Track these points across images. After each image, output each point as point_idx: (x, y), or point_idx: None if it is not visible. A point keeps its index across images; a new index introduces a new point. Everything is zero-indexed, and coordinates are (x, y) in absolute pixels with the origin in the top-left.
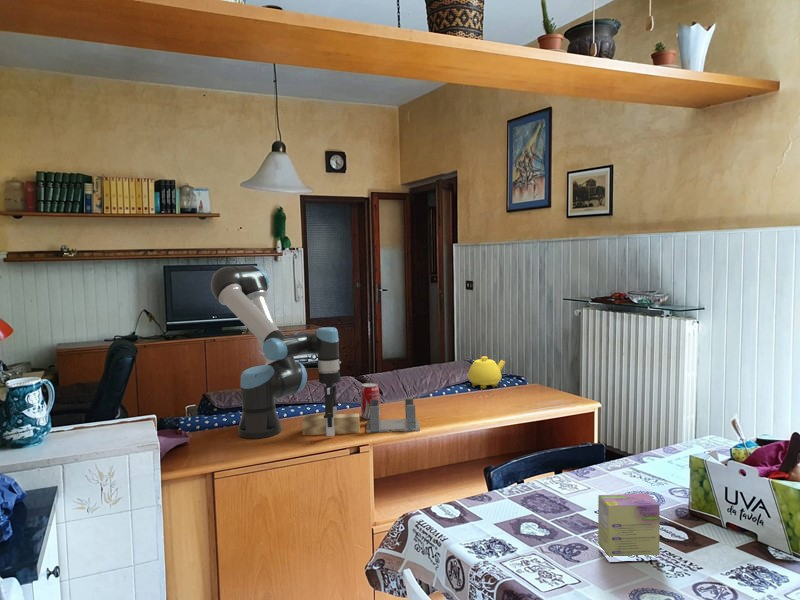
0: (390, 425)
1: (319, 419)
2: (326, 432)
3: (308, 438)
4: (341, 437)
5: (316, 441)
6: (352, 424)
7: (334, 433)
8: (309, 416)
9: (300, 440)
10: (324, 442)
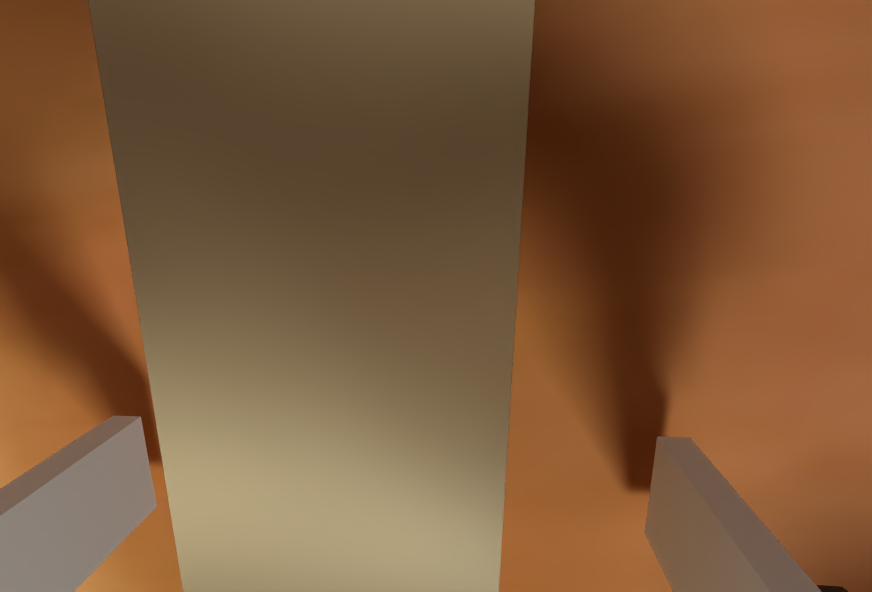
0: None
1: (179, 414)
2: (71, 444)
3: None
4: None
5: (27, 283)
6: None
7: (134, 523)
8: (377, 107)
9: (42, 44)
10: (5, 381)
